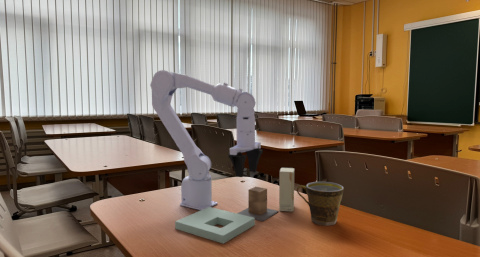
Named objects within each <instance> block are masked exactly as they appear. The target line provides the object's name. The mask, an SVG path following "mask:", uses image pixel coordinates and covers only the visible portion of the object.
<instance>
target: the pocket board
mask: <svg viewBox="0 0 480 257" xmlns="http://www.w3.org/2000/svg"><path fill="white" fill-rule="evenodd" d="M237 213H238V212H232V211H228V210H225V209H220V208H215V207H213V206H211V207H208V208H205V209H203V210H198V211H196V212H194V213H191V214H189V215H187V216H185V217H182V218H179V219H177V220H175V222H174V226H175V229H176V230H177V231H181V232H185V233H187V234H192V235H194V236H197V237H201V238H204V239H207V240H211V241H214V242H215V243H216V242H217V243H220V244H225V243H227V242H229V241H230V240H233V239H234V238H235V237H237V236H238V235H240V234H242V233H244V232H246V231H247V230H249V229H250V228H252V227H254V226H255V225H256V220H255V218H253V217H249V216H245V215H241V214H237ZM216 225H220V226H223V227H218V226H216Z"/></svg>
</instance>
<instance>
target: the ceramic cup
mask: <svg viewBox="0 0 480 257" xmlns="http://www.w3.org/2000/svg"><path fill="white" fill-rule="evenodd" d="M300 188H301V189H303V190H305V192H306V194H307V195H306V196H307V199H306V198H305V196H303V194H301V193H300V192H299V189H300ZM344 189H345V188H344V186H343V185H341V184H339V183H336V182H331V181H313V182H308V183H307V184H306V185H299V186H297V189H296V193H297V195H299V196H300V197H301V198H302V199H303V200H304V202H305V203H307V205H308V208H309V212H310V219H311V221H312V222H313V223H314V224H315V225H318V226H325V227H327V226H329V227H330V226H334V225H335V224H336V223H337V221H338V216H339V211H340V206H341V201H342V199H343V194H344Z"/></svg>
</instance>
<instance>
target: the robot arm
mask: <svg viewBox="0 0 480 257" xmlns="http://www.w3.org/2000/svg"><path fill="white" fill-rule="evenodd" d="M150 88H151V105H152V108H153V110H154V111H155V113H156V115H157V116H158V117H159V119H160V121H161V122H162V124H163V125H164V127H165V129H166V131H167V132H168V133H169V135H170V136H171V138H172V140H173V141H174V143H175V144H176V146H177V148H178V149H179V151H180V153H181V155H182V156H183V161H184V163H185V165H186V168H187V173H188V175H187V176H185V177H184V178H183V179H182V182H181V185H180V186H181V187H180V190H181V193H180V194H181V195H180V196H181V197H180V198H181V202H180V203H179V206H182V207H186V208H191V209H194V210H198V211H201V210H203V209H205V208H208V207H214V206H216V205H218V202H217V201H214V200H212V199H213V198H212V197H213V196H212V193H213V192H212V183H213V182H212V174H210V172H209V171H210V169H211V167H212V161H211V158H209V156H207V155H205V154H204V152H202V150H201V149H200V148H199V147H198V146H197V145H196V143H195V141H194V139H193V138H192V137H191V135H190V133H189V131H188V130H187V129H186V127H185V125H184V124H183V122H182V121H181V119H180V118H179V116H178V114H177V112H176V111H175V109H174V107H173V106H172V105H171V102H172V98H173V95H174V94H175V92H176V91H177V90H178V89H185V88H189V89H192V90H195V91H197V92H201V93H204V94H207V95H210V96H211V97H212V100H213V101H215V102H217V103H220V104H223V105H225V106H229V107H231V108H234V107H236V108H237V114H236V145H234V146H232V147H230V148H229V153H228V158H229V159H230V161H231V163H232V166H233V169H234V173H235V177H237V178H243V177H244V173H245V172H244V170H245V162H246V159H247V161H248V170H249V172H251V173H257V169H258V165H259V163H260V162H259V160H260V159H261V156H262V154H263V153H264V152H263V150H264V149H261V146H262V145H261V144H262V143H261V142H260V141H256V117H255V114H256V112H255V107H256V99H255V97H254V96H253V95H252V94H251V93H250V92H247V91H243V89H242V88H239V89H238V88H236V87H233V86H230V85H229V83H227V82H223V83H222V82H219V83H217V84H215V85H213V84H211V83H209V82H206V81H204V80H200V79H198V78H195V77H193V76H190V75H188V74H185V73H184V74H182V73H177V72H172V71H168V70H165V69H161V70H158V71H156V72H155V73H154V74H153V77H152V79H151V82H150ZM243 153H246V154H243Z"/></svg>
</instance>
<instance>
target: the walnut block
mask: <svg viewBox="0 0 480 257" xmlns="http://www.w3.org/2000/svg"><path fill="white" fill-rule="evenodd" d="M247 200H248V204H247V205H248V207H247V208H248V213H252V214H256V215H262V214H264V213H265V212H267V208H268V188H267V187H266V188H265V187H260V186H253V187H251V188H249V189H248V199H247Z"/></svg>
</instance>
